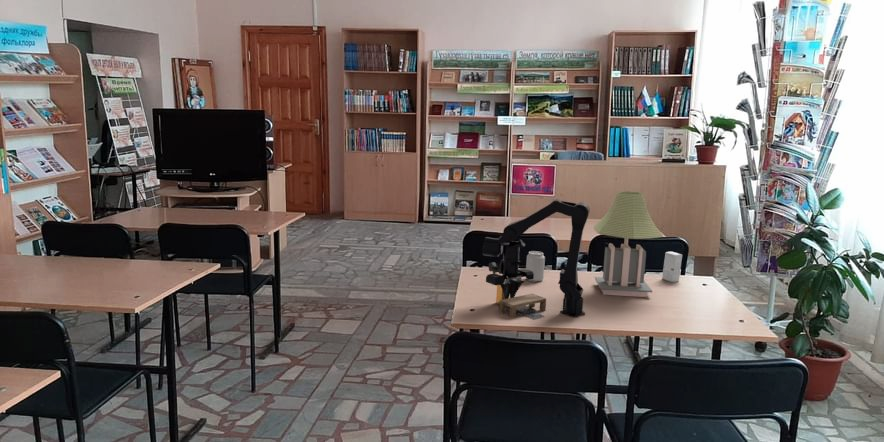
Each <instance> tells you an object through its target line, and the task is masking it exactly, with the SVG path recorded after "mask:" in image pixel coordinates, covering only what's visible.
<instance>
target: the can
mask: <svg viewBox="0 0 884 442" xmlns="http://www.w3.org/2000/svg"><path fill="white" fill-rule="evenodd" d="M545 261H546V256H544V252H543V251H536V250H531V251H528V254H527V255H526V263H525V264H526V265H525V269H527V270H530V271H532V272H533V274H534V278H533V279H530V280H528V279H527V278H526V280H527V281H529V282H532V283H533V282H534V283H536V282H537V281H540V282H542V281H543V280H544V277H545V276H544V275H545ZM537 283H538V282H537Z"/></svg>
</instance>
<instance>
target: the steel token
mask: <svg viewBox="0 0 884 442" xmlns="http://www.w3.org/2000/svg"><path fill="white" fill-rule="evenodd" d="M524 316H525V317H527V318H529V317H530V318H529V319H532V318H533V319H532V320H538V319H543V318H545V316H546V315H544V314H540V313H539V312H531V313H527V314H524ZM542 317H543V318H542Z"/></svg>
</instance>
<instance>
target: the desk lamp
mask: <svg viewBox="0 0 884 442" xmlns="http://www.w3.org/2000/svg"><path fill="white" fill-rule="evenodd" d="M593 230H594V231H595V232H596V233H597V234H598V235H603V236H608V237H614V238H615V237H616V238H621V239H624V240H623V241H624V242H623V243H621V244H620V247H615V245H614V244H613V243H611V242H610V243H608V247H606V246H605V247H604V257H603V258H604V259H603V273H602V274H603V275H602V276H601V277H600V276H594V280H595V282H596V283H597V286H598V287H599V289H600V290H601V292H602V295H604V296H605V295H608V296H620V297H621V296H623V297H624V296H625V297H641V298H647V297H648V293H653V289H651V287H650V286H649V285H648V284H647V282H646V281H645V273H646V272H645V269H646V259H647V251H646V250H645V249H644V248H643V246H641V244H636V245H635V246H636V247H635V248H631V246H630V245H629V239H630V240H631V239H632V240H639V239H641V240H645V239H646V240H647V239H658V238H662V237H663V234H662V232H661V231H660V230H659V229H658V227H657V226H656V225H655V223H654V221H653V220H652V218H651V215H650V213H649V212H648V208H647V205H646V201H645V197H644V194H643V193H642V192H639V191H629V190H627V191H626V190H624V191H622V190H621V191H617V194H616V196H615V198H614V200H613V202H612V204H611V206H610V208H609V209H608V211H607V212H606V213H605V215H604V216H603V217H602V218H601V219H599V221H598V222H597V223H596V224H594V226H593Z"/></svg>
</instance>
